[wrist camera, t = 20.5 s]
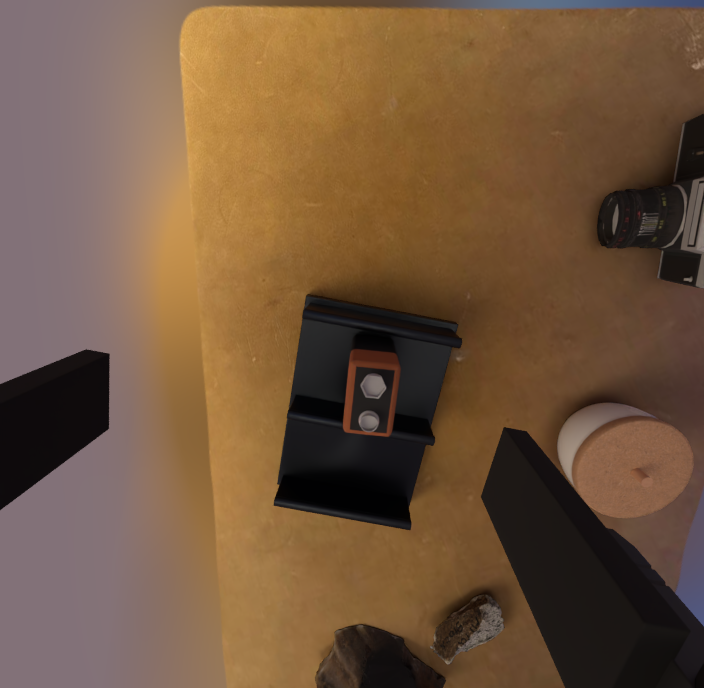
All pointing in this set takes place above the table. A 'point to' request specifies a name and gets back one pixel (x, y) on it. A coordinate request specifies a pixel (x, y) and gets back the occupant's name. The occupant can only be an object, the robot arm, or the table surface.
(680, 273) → the camera
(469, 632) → the rock sample
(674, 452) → the trinket box
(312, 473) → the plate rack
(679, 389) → the table surface
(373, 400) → the battery
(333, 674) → the mineral specimen
